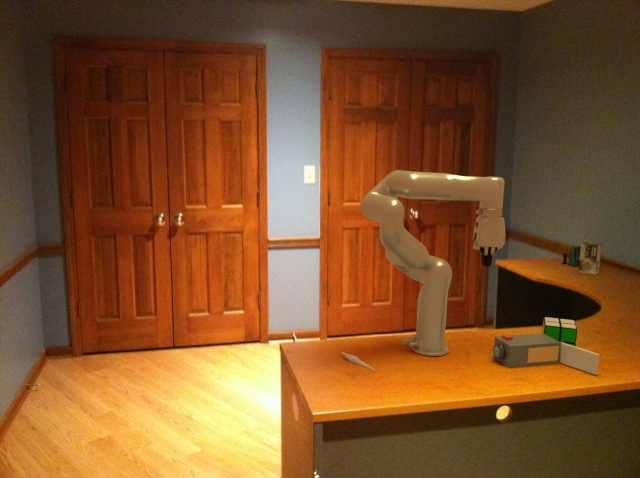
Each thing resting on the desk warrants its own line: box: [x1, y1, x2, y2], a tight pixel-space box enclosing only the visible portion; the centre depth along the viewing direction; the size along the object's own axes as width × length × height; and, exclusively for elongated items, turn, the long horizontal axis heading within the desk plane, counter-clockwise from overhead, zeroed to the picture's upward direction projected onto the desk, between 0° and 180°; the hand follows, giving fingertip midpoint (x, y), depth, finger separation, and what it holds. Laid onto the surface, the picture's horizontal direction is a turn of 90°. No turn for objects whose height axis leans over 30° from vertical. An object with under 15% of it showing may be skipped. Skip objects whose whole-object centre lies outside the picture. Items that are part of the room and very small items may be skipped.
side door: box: [558, 342, 600, 376], centre depth 179 cm, size 13×2×7 cm, turn 37°
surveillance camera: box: [561, 244, 581, 268], centre depth 330 cm, size 6×12×10 cm
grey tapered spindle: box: [341, 351, 376, 372], centre depth 179 cm, size 15×3×2 cm, turn 40°
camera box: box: [492, 332, 560, 368], centre depth 185 cm, size 20×9×8 cm, turn 104°
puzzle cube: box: [541, 316, 578, 347], centre depth 194 cm, size 10×10×10 cm
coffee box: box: [578, 241, 602, 276], centre depth 311 cm, size 9×6×16 cm
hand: (486, 265), depth 198 cm, fingers closed
